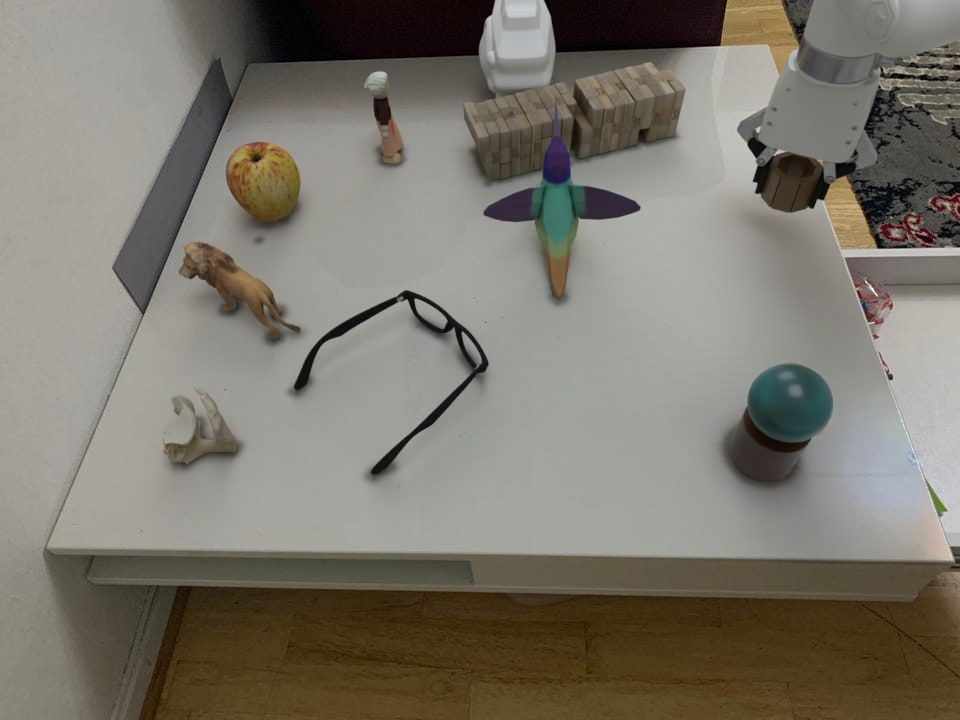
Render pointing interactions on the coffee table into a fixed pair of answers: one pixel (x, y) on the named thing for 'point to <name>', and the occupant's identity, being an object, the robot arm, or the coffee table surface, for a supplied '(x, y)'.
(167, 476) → the coffee table surface
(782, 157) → the bronze ring
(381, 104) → the grandmother figurine
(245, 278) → the lion figurine
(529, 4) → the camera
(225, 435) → the bone
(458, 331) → the glasses
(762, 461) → the ball stand
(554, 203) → the decorative sculpture
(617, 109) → the block tower
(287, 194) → the apple
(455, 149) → the coffee table surface
